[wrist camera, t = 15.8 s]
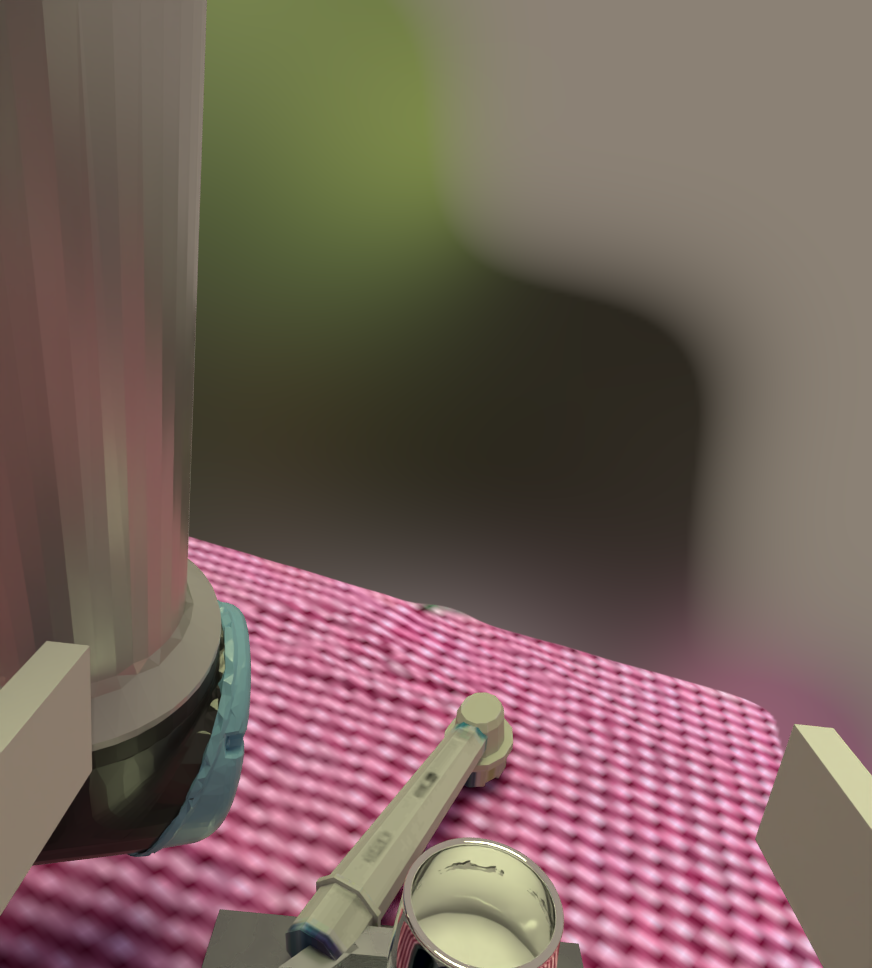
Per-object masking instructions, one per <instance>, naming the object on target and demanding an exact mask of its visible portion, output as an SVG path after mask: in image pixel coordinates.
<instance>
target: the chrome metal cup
mask: <svg viewBox="0 0 872 968" xmlns="http://www.w3.org/2000/svg"><path fill="white" fill-rule="evenodd" d="M563 928H564V914H563V907H562V904H561V900H560V897H559V895H558V893H557V891H556V889H555V887H554V885H553V883H552V882H551V880H550V879H549V878H548V876H547V875H546V874H545V873H544V871H543V870H542V869H541V868H540V867H539V866H538V865H537V864H536V863H534V862H533V861H532V860H531V859H529V858H528V857H527V856H525V855H524V854H522V853H521V852H519V851H517V850H515V849H513V848H511V847H509V846H507V845H504V844H502V843H499V842H496V841H492V840H487V839H481V838H457V839H451V840H447V841H444V842H441V843H439V844H436V845H434V846H432V847H431V848H429V849H427V850H426V851H425V852H423V853H422V854H421V855H420V856H419V857H418V858H417V859H416V860H415V861H414V863H413V864H412V866H411V867H410V869H409V871H408V873H407V876H406V878H405V882H404V887H403V894H402V897H401V901H400V904H399V908H398V911H397V915H396V919H395V923H394V927H393V930H392V935H391V940H390V944H389V949H388V954H387V960H386V968H557V963H558V955H559V947H560V941H561V938H562V934H563Z"/></svg>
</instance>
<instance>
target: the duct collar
mask: <svg viewBox="0 0 872 968" xmlns="http://www.w3.org/2000/svg"><path fill="white" fill-rule="evenodd" d="M296 918H297V917H294V916H283V915H273V914H262V913H252V912H241V911H231V910H220V911H219V914H218V917H217V920H216V923H215V927H214V930H213V933H212V936H211V939H210V943H209V946H208V949H207V952H206V955H205V959H204V962H203V965H202V968H339V964H341V963H342V968H386V960H387V954H388V949H389V944H390V940H391V935H392V930H393V927H394V926H388V925H381V927H375V926H367V927H366V928H365V930H364V931H363V932H362V934H361V935H360V936H359V938H358V939H357V940H356V941H355V942H354V943H353V944H352V945H351V946H350V947H349V948H348V949H347V950H346V951H345V952H344V953H343V954H342V955H341V956H340V957H339V958H338V959H337V960H336V961H335V960H333V959H332V958H330V957H328V956H327V955H325V954H324V953H322V952H321V951H319V950H317V949H316V948H314V947H313V946H311V945H309V946H308V947H307V948H305V949H304V950H302V951H301V952H299V953H298V954H297V955H295V956H294V957H292V958H291V956H290V955H289V954H288V952H287V951H286V937H285V933H286V931H287V930H288V929H289V927H290V926H291V925H292V924H293V922H294V921H295V920H296ZM557 968H583V963H582V958H581V953H580V948H579V944H576V943H565V942H560V947H559V955H558V963H557Z"/></svg>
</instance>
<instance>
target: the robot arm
mask: <svg viewBox="0 0 872 968" xmlns="http://www.w3.org/2000/svg"><path fill="white" fill-rule="evenodd" d="M206 7H207V0H0V915H1V914H2V912H3V911H4V909H5V907H6V906H7V904H8V903H9V901H10V900H11V898H12V896H13V895H14V893H15V892H16V890H17V889H18V887H19V885H20V884H21V882H22V881H23V879H24V877H25V876H26V874H27V873H28V871H29V870H30V868H31V866H33V865H41V864H49V863H57V862H65V861H74V860H82V859H90V858H98V857H106V856H114V855H122V854H128V855H130V856H134V857H141V856H149V855H150V854H151V853H156V852H157V851H159V850H161V849H162V848H168V847H173V846H179V845H184V844H191V843H195V842H198V841H201V840H203V839H205V838H207V837H208V836H210V835H211V834H212V833H214V832H215V831H216V830H217V829H218V828H219V827H220V825H221V824H222V823H223V821H224V820H225V818H226V816H227V814H228V812H229V810H230V808H231V806H232V803H233V800H234V797H235V794H236V791H237V787H238V783H239V779H240V775H241V770H242V764H243V758H244V741H243V737H244V734H245V732H246V730H247V724H248V718H249V708H250V691H251V657H250V645H249V634H248V628H247V624H246V621H245V617H244V615H243V614H242V612H241V611H240V610H239V609H238V608H237V607H236V606H234V605H232V604H229V603H224V602H220V601H219V600H217V598H216V595H215V592H214V590H213V587H212V585H211V584H210V582H209V581H208V579H207V578H206V576H205V575H204V574H203V572H202V571H201V570H200V569H199V568H198V567H197V566H196V565H195V564H194V563H193V562H191V561H190V560H189V559H188V533H189V502H190V475H191V473H190V472H191V446H192V417H193V388H194V358H195V329H196V299H197V269H198V241H199V239H198V238H199V212H200V182H201V154H202V152H201V151H202V124H203V95H204V65H205V37H206ZM755 840H756V842H757V844H758V845H759V847H760V849H761V851H762V853H763V855H764V857H765V859H766V860H767V862H768V864H769V866H770V868H771V870H772V872H773V874H774V876H775V877H776V879H777V881H778V883H779V885H780V887H781V889H782V891H783V892H784V894H785V896H786V898H787V900H788V902H789V904H790V906H791V907H792V909H793V911H794V913H795V915H796V917H797V919H798V921H799V922H800V924H801V926H802V928H803V930H804V932H805V934H806V936H807V938H808V939H809V941H810V943H811V945H812V947H813V949H814V951H815V953H816V954H817V956H818V958H819V960H820V962H821V964H822V966H823V968H872V776H871V774H870V773H869V772H868V771H867V769H866V768H865V767H864V766H863V764H862V763H861V762H860V761H859V760H858V758H857V757H856V756H855V755H854V753H853V752H852V751H851V750H850V748H849V747H848V746H847V745H846V743H845V742H844V741H843V740H842V739H841V737H840V736H839V735H838V734H837V732H836V731H835V730H834V729H833V728H825V727H816V726H807V725H798V724H794V726H793V729H792V732H791V735H790V738H789V741H788V744H787V747H786V750H785V753H784V756H783V759H782V762H781V764H780V767H779V770H778V773H777V776H776V779H775V782H774V785H773V788H772V791H771V794H770V797H769V800H768V803H767V806H766V809H765V812H764V815H763V818H762V821H761V823H760V826H759V829H758V832H757V835H756V838H755Z"/></svg>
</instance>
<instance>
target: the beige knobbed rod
mask: <svg viewBox="0 0 872 968" xmlns="http://www.w3.org/2000/svg"><path fill="white" fill-rule="evenodd" d="M512 747H513V734H512V727H511V726H510V725H509V724H508V722H507V721H506V720H505V719H504V708H503V706H502V704H501V702H500V701H499V700H498V699H497V698H496V696H494V695H491V694H489V693H475V694H473V695H471V696H469V697H467V698H466V699H465V700H464V702H463V703H462V704H461V706H460V707H459V709H458V710H457V716H456V718H454V720H453V721H452V722H451V724H450V725H449V726H448V728H447V729H446V730H445V738H444V739H443V740H442V741H441V743H440V744H439V745H438V746H437V747H436V749H435V750H434V751H433V752H432V753H431V755H430V756H429V757H428V758H427V759H426V761H425V762H424V763H423V764H422V765H421V767H420V768H419V769H418V770H417V771H416V773H415V774H414V775H413V776H412V777H411V779H410V780H409V781H408V782H407V783H406V785H405V786H404V787H403V788H402V789H401V791H400V792H399V793H398V794H397V795H396V797H395V798H394V799H393V800H392V801H391V802H390V804H389V805H388V806H387V807H386V808H385V810H384V811H383V812H382V813H381V814H380V816H379V817H378V818H377V819H376V820H375V822H374V823H373V824H372V825H371V826H370V828H369V829H368V830H367V831H366V832H365V834H364V835H363V836H362V837H361V838H360V840H359V841H358V842H357V843H356V844H355V846H354V847H353V848H352V849H351V850H350V852H349V853H348V854H347V855H346V856H345V858H344V859H343V860H342V861H341V862H340V864H339V865H338V866H337V867H336V868H335V870H334V871H333V872H332V873H331V874H330V875H328V876H324V877H321V878H319V879H318V881H317V882H316V891H317V892H316V893H315V895H314V896H313V897H312V899H311V900H310V901H309V902H308V904H307V905H306V906H305V908H304V909H303V910H302V912H301V913H300V914H299V916H298V917H297V918H296V920H295V921H294V922H293V924H292V925H291V926H290V927H289V929H288V930H287V931H286V933H285V937H286V951H287V952H288V954H289V955H290V956H291V958H292V957H294V956H295V955H297V954H298V953H299V952H301V951H302V950H304V949H305V948H307V947H308V946H309V945H311V946H313V947H314V948H316V949H317V950H319V951H321V952H322V953H324V954H325V955H327V956H328V957H330V958H332V959H333V960H335V961H336V960H337V959H338V958H339V957H340V956H341V955H342V954H343V953H344V952H345V951H346V950H347V949H348V948H349V947H350V946H351V945H352V944H353V943H354V942H355V941H356V940H357V939H358V938H359V936H360V935H361V934H362V932H363V931H364V930H365V928H366V927H367V926H375V927H381V919H382V917H383V916H384V914H385V913H386V911H387V909H388V908H389V906H390V904H391V903H392V901H393V900H394V898H395V896H396V895H397V893H398V891H399V890H400V888H401V887H402V885H403V883H404V882H405V878H406V876H407V873H408V871H409V869H410V867H411V866H412V864H413V863H414V861H415V860H416V859H417V858H418V857H419V856H420V855H421V854H422V852H423V851H424V849H425V848H426V846H427V844H428V843H429V841H430V839H431V838H432V836H433V835H434V833H435V831H436V830H437V828H438V826H439V825H440V823H441V822H442V820H443V818H444V817H445V815H446V813H447V812H448V810H449V809H450V807H451V805H452V804H453V802H454V800H455V799H456V797H457V796H458V794H459V792H460V791H461V789H462V787H463V786H464V785H465V786H467V787H483V786H485V783H486V782H488V781H490V780H492V779H494V778H495V777H496V778H499V777H500V775H501V773H502V772H503V770H504V768H505V767H506V759H507V757H508V755H509V753H510V752H511V750H512ZM339 968H342V963H341V964H339Z"/></svg>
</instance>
